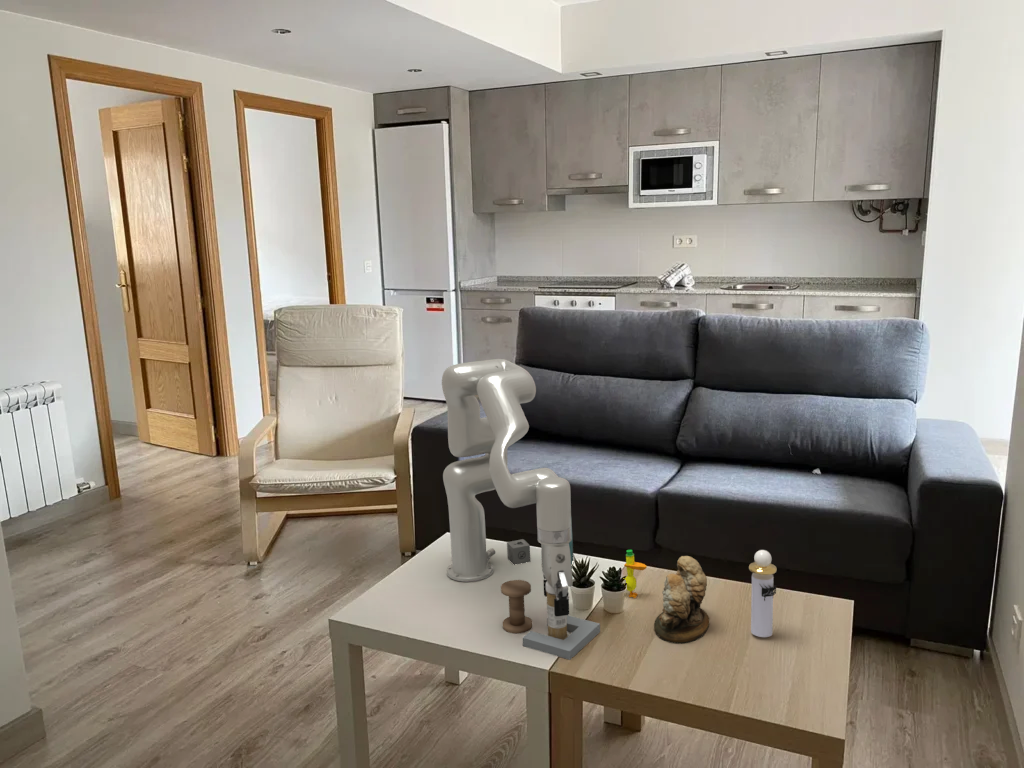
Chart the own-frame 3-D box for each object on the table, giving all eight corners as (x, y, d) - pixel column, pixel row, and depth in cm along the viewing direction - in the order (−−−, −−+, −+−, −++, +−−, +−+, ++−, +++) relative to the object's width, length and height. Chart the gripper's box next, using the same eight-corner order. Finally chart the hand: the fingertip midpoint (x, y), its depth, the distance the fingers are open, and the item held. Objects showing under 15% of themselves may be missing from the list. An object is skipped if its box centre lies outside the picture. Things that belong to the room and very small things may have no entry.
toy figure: (648, 595, 197) (648, 550, 195) (644, 601, 194) (643, 555, 192) (623, 591, 200) (622, 546, 198) (618, 597, 197) (617, 551, 195)
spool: (513, 616, 189) (511, 577, 188) (538, 623, 186) (536, 583, 184) (496, 629, 184) (494, 588, 182) (522, 636, 180) (520, 595, 178)
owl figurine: (667, 604, 192) (668, 538, 189) (716, 613, 187) (717, 545, 184) (645, 638, 177) (645, 566, 174) (698, 649, 171) (698, 575, 168)
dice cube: (530, 562, 221) (529, 545, 220) (513, 565, 219) (513, 548, 218) (524, 555, 226) (523, 539, 225) (507, 558, 224) (506, 542, 223)
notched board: (554, 619, 187) (554, 611, 187) (600, 631, 180) (599, 623, 180) (522, 645, 176) (522, 637, 175) (569, 659, 169) (569, 651, 169)
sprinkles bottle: (565, 631, 181) (564, 576, 179) (569, 641, 177) (567, 585, 174) (546, 633, 181) (544, 578, 178) (548, 643, 176) (546, 587, 174)
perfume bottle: (742, 633, 177) (743, 549, 173) (761, 626, 180) (763, 543, 176) (761, 644, 172) (762, 557, 168) (780, 637, 175) (782, 552, 171)
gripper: (581, 546, 167) (583, 621, 170) (560, 518, 183) (562, 586, 187) (547, 550, 165) (549, 625, 168) (529, 521, 182) (531, 590, 185)
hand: (556, 605), depth 177 cm, fingers open, 9 cm apart
